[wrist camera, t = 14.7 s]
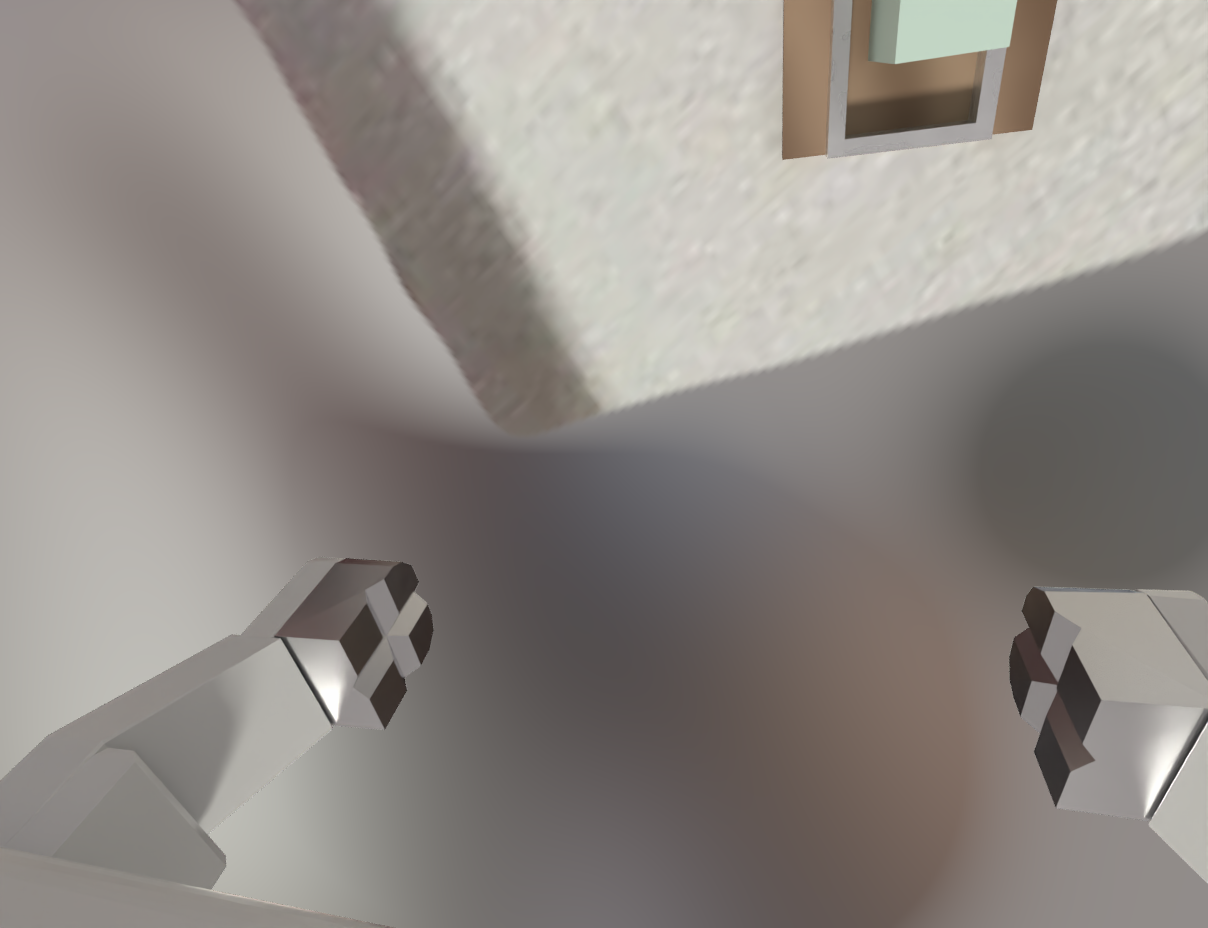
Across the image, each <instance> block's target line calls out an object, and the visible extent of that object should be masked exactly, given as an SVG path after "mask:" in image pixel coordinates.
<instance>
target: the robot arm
mask: <svg viewBox="0 0 1208 928" xmlns="http://www.w3.org/2000/svg"><path fill="white" fill-rule="evenodd" d="M418 583H419V580H418V578H417V576H416V574H415V571H414V569H413V567H412V565H410V564H407V563H404V562H398V561H384V560H368V559H353V558H346V559H340V558H327V557H317V558H315V559H312V560H310V561H307V562H306V563H305V565H304V566H303V567H302V568H301V569H300V570H299V571H298V572H297V573H296V575H295V576H294V577H293V578H292V579H291V580H290V581H289V582H288V584H286V586H285V587H284V588H283V589H282V590H281V591H280V592H279V593H278V594H277V596H276V597H275V598H274V599H273V600H272V601H271V602H270V603H269V604H268V606H266V608H265V609H264V610H263V611H262V612H261V613H260V614H259V615H258V616H257V618H256V619H255V620H254V621H253V622H252V623H251V624H250V625H249V626H248V627H247V628H246V630H245V631H244V632H243V633H242V634H241V635H230V636H228V637H226V638H224V639H223V640H221V641H219V642H217V643H215V644H213V645H212V646H210V647H208V648H206V649H204V650H203V651H201V652H199V653H197V654H195V655H193V656H192V657H190V658H188V659H186V660H184V661H182V662H181V663H179V664H177V665H175V666H173V667H171V668H170V669H168V670H166V671H164V672H162V673H161V674H159V675H157V676H155V677H153V678H152V679H150V680H148V681H146V682H144V683H142V684H141V685H139V686H137V687H135V688H133V689H131V690H130V691H128V692H126V693H124V694H122V695H121V696H119V697H117V698H115V699H113V700H111V701H110V702H108V703H106V704H104V705H102V706H100V707H99V708H97V709H95V710H93V711H92V712H90V713H88V714H86V715H84V716H82V717H80V718H78V719H77V720H75V721H73V722H71V723H69V724H67V725H66V726H64V727H62V728H60V729H58V730H57V731H55V732H53V733H51V734H50V735H48V736H47V737H46V738H45V739H43V740H42V741H41V742H40V743H39V744H38V745H37V746H36V747H35V748H34V749H33V750H32V751H31V752H30V753H29V754H28V755H27V756H26V757H24V758H23V760H21V761H20V762H19V763H18V764H17V765H16V766H15V767H14V768H13V769H12V770H11V771H10V772H9V773H8V774H7V775H6V776H5V777H4V778H2V780H0V928H394V927H390V926H385V925H380V924H375V923H370V922H365V921H360V920H355V919H351V918H346V917H341V916H336V915H331V914H326V913H321V912H316V911H312V910H306V909H302V908H297V907H292V906H287V905H283V904H278V903H273V902H267V901H263V900H258V899H253V898H248V897H244V896H239V895H234V894H229V893H224V892H219V891H214V890H211V889H212V888H213V886H214V885H215V883H216V881H217V880H218V878H219V877H220V875H221V874H222V872H223V870H224V869H225V867H226V855H225V854H224V853H223V852H222V851H221V849H220V848H219V847H218V846H217V845H216V844H215V843H214V841H213V840H212V839H211V838H210V837H209V836H208V834H209V833H210V832H212V831H213V830H214V829H215V828H216V827H217V826H219V825H220V824H221V823H222V822H223V821H224V820H226V819H227V818H228V817H229V816H231V815H232V814H233V813H234V812H235V811H236V810H238V809H239V808H240V807H241V806H242V805H244V804H245V803H246V802H247V801H248V800H249V799H251V798H252V797H253V796H254V795H255V794H256V793H258V792H259V791H260V790H261V789H262V788H264V787H265V786H266V785H267V784H268V783H270V782H271V781H272V780H273V779H274V778H275V777H276V776H278V775H279V774H280V773H281V772H282V771H284V770H285V769H286V768H287V767H288V766H290V765H291V764H292V763H293V762H294V761H295V760H297V759H298V758H299V757H300V756H301V755H303V754H304V753H305V752H306V751H307V750H308V749H310V748H311V747H312V746H313V745H314V744H315V743H317V742H318V741H319V740H320V739H321V738H322V737H324V736H325V735H326V734H327V733H328V732H330V731H331V730H332V729H333V727H332V725H333V726H334V725H335V726H345V727H357V728H370V729H382V730H385V729H386V727H387V725H388V724H389V722H390V720H391V718H392V716H393V714H394V713H395V711H396V709H397V707H398V706H399V704H400V702H401V701H402V699H403V697H404V695H405V693H406V692H407V687H406V681H405V677H406V676H407V675H409V674H410V673H411V672H413V671H414V670H416V669H417V668H418V667H420V666H421V665H422V663H423V661H424V659H425V657H426V655H427V654H428V651H429V650H430V645H431V640H432V636H433V631H434V629H433V619H432V614H431V611H430V609H429V606H428V604H427V603H426V602H425V601H424V600H423V599H422V598H421V597H419V596H418V595H417V594H416V593H415V589H416V587H417V585H418ZM1022 613H1023V615H1024V618H1025V620H1026V622H1027V624H1028V627H1029V628H1027V629H1026V630H1024V631H1023V632H1021V633H1020V634H1018V635H1017V636H1015V637H1014V639H1013V643H1012V648H1011V651H1010V656H1009V678H1010V684H1011V689H1012V694H1013V698H1014V701H1015V703H1016V706H1017V709H1018V712H1019V714H1020V717H1021V718H1023V720H1025V721H1026V722H1027V723H1028V724H1029V725H1030V726H1032V727H1033V728H1034V729H1035V730H1036V731H1038V732H1039V733H1040V735H1039V738H1038V741H1037V744H1036V747H1035V750H1034V754H1035V756H1036V759H1037V761H1038V764H1039V766H1040V769H1041V771H1042V774H1043V777H1044V779H1045V782H1046V784H1047V787H1048V789H1049V792H1050V795H1051V797H1052V800H1053V802H1054V804H1055V807H1056V808H1059V809H1066V810H1073V811H1080V812H1087V813H1094V814H1101V815H1108V816H1115V817H1123V818H1130V819H1137V820H1144V821H1150V823H1149V826H1150V827H1151V828H1152V829H1153V830H1154V831H1155V832H1156V833H1157V834H1158V835H1159V836H1160V837H1161V838H1162V839H1163V840H1164V841H1165V842H1166V843H1167V844H1168V845H1169V846H1170V847H1171V848H1172V849H1173V850H1174V851H1175V852H1176V853H1177V854H1178V855H1179V856H1180V857H1181V858H1182V859H1183V860H1184V861H1185V862H1186V863H1187V864H1188V865H1189V866H1190V867H1192V869H1193V870H1194V871H1195V872H1197V873H1198V875H1200V876H1201V877H1202V878H1203V879H1204V880H1205V881H1206V882H1207V883H1208V602H1207V601H1206V600H1205V599H1204V598H1203V597H1201V596H1200V595H1198V594H1196V593H1194V592H1192V591H1179V590H1178V591H1177V590H1141V589H1137V590H1134V591H1133V590H1122V589H1090V588H1062V587H1061V588H1060V587H1033V588H1032V589H1031V590H1030V591H1029V593H1028V594H1027V595H1026V598H1025V601H1024V604H1023V608H1022Z"/></svg>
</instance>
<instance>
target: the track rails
mask: <svg viewBox="0 0 1208 928" xmlns="http://www.w3.org/2000/svg"><path fill="white" fill-rule="evenodd" d="M851 18H852V0H832V2H831V26H830V50H829V74H828V98H827V122H826V146H825V155H826V157H827V159H828V158H836V157H845V156H853V155H861V154H870V153H878V152H887V151H895V150H903V149H912V148H920V147H929V146H937V145H945V144H954V143H962V142H971V141H979V140H987V139H992V133H993V127H994V121H995V115H996V109H997V103H998V97H999V91H1000V85H1001V79H1002V73H1003V66H1004V60H1005V54H1006V48H1007V47H1005V48H998V49H992V50H985V51H979V52H978V54H977V61H976V68H975V75H974V82H973V89H972V95H971V102H970V109H969V116H968V120H965V121H957V122H949V123H941V124H933V125H925V126H917V127H909V128H901V129H894V130H886V131H878V132H870V133H862V134H854V135H846V136H845V126H846V108H847V90H848V72H849V54H850V36H851Z"/></svg>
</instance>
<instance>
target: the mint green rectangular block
mask: <svg viewBox="0 0 1208 928" xmlns="http://www.w3.org/2000/svg"><path fill="white" fill-rule="evenodd" d="M1016 4H1017V0H872V7H871V21H870V36H869V51H868V61H872V62H881V63H889V64H899V63H906V62H912V61H919V60H926V59H932V58H939V57H945V56H952V55H959V54H965V53H972V52H979V51H985V50H992V49H998V48H1005V47H1009V46H1010V40H1011V34H1012V28H1013V22H1014V16H1015V10H1016Z"/></svg>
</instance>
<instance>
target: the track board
mask: <svg viewBox="0 0 1208 928" xmlns="http://www.w3.org/2000/svg"><path fill="white" fill-rule="evenodd" d="M831 2H832V0H784V22H783V132H782V158H783V160H784V159H793V158H801V157H809V156H818V155H825V146H826V122H827V98H828V74H829V50H830V26H831ZM1056 4H1057V0H1017V4H1016V10H1015V16H1014V22H1013V28H1012V34H1011V40H1010V46H1009V47H1007V48H1006V54H1005V60H1004V66H1003V73H1002V79H1001V85H1000V91H999V97H998V103H997V109H996V115H995V121H994V127H993V133H992V134H1000V133H1008V132H1017V131H1025V130H1032V127H1033V122H1034V117H1035V112H1036V107H1037V102H1038V96H1039V91H1040V86H1041V81H1042V76H1043V71H1044V66H1045V60H1046V55H1047V50H1048V45H1049V40H1050V35H1051V30H1052V24H1053V19H1054V14H1055V9H1056ZM871 7H872V0H852V18H851V36H850V54H849V72H848V90H847V108H846V126H845V136H846V135H854V134H862V133H870V132H878V131H886V130H894V129H901V128H909V127H917V126H925V125H933V124H941V123H949V122H957V121H965V120H968V116H969V109H970V102H971V95H972V89H973V82H974V75H975V68H976V61H977V54H978V52H972V53H965V54H959V55H952V56H945V57H939V58H932V59H926V60H919V61H912V62H906V63H899V64H889V63H881V62H872V61H868V51H869V36H870V21H871Z"/></svg>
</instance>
